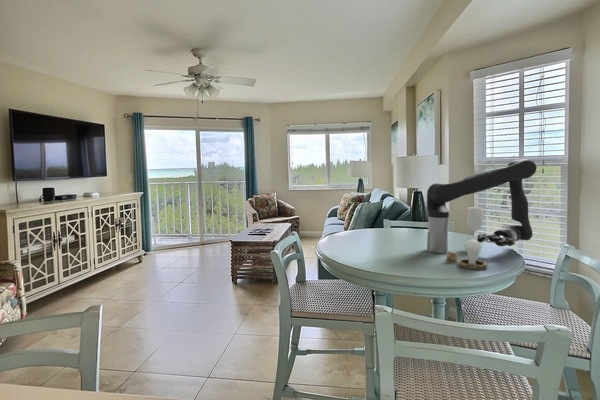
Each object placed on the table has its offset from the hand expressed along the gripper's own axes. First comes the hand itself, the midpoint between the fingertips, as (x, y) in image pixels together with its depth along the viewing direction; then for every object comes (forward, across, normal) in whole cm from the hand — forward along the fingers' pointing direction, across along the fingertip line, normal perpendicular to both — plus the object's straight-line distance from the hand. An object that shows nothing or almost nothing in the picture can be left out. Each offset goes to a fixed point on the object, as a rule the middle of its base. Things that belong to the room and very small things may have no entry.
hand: (488, 241), depth 151 cm
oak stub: (+13, -9, +8) cm, 18 cm away
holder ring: (+14, 0, +8) cm, 16 cm away
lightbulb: (+14, 0, +8) cm, 16 cm away
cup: (-17, -15, +9) cm, 24 cm away
